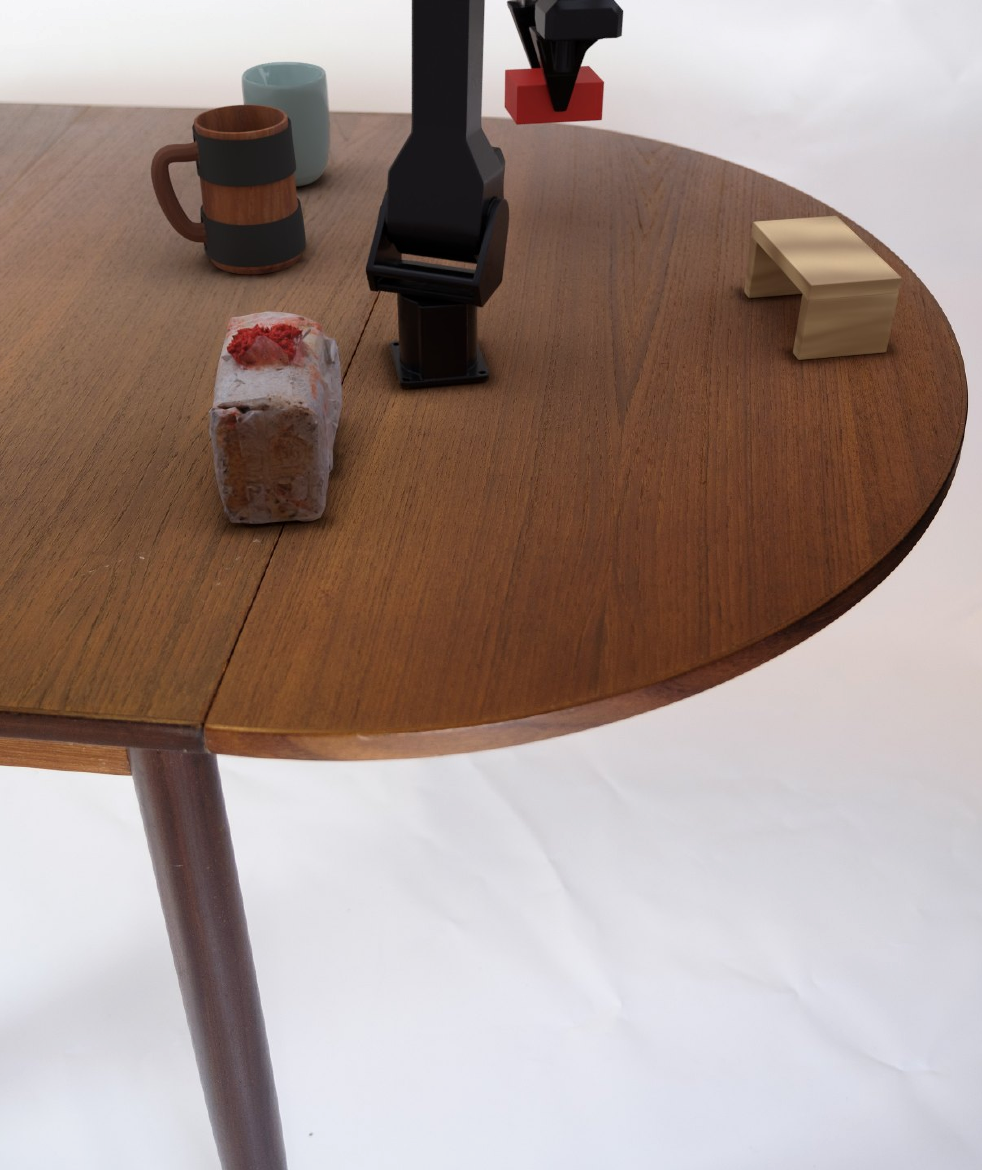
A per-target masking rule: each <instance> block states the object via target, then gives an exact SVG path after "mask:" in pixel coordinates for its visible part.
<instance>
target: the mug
mask: <svg viewBox="0 0 982 1170" xmlns="http://www.w3.org/2000/svg"><path fill="white" fill-rule="evenodd" d="M191 129H192V139H193V142H190V143H171V144H167V145H165V146H162V147H160V148H159V149H158V150H157V151H156V152H155V153H154V156H153V158H152V160H151V166H150V177H151V183H152V186H153V191H154V194H155V197H156V199H157V202H158V204H159V206H160V209H161V210H162V213H163V214H164V216H165V218H166V220H167V221H168V223H169V224H170V226H171V227H172V229H173V230H175V231H176V232H177V233H178V234H179V235H180V236H181V237H183V238H184V239H185V240H188V241H190V242H193V243H201V244H203V248H204V249H203V250H204V252H205V255H206V256H207V257H208V258H209V260H210V261H211V262H212V264H213V266H215V267H216V268H218V269H220V270H221V271H225V272H228V273H233V274H238V275H262V274H270V273H275V272H278V271H282V270H285V269H287V268H289V267H291V266H293V265H294V264H296V263H298V261H299V260H300V259H301V256H302V255H303V252H304V251H305V249H306V246H307V240H306V229H305V228H306V227H305V221H304V215H303V208H302V203H301V200H300V199H299V197H298V194H297V187H296V184H295V175H294V172H295V171H296V159H295V152H294V144H293V136H292V126H291V120H290V119H289V117H287V115H286V113H285V112H283V111H282V110H280V109H277V108H273V107H269V106H262V105H244V104H235V105H234V104H233V105H225V106H220V107H215V108H212V109H209V110H206V111H203V112H201V113H199V114H198V115H197V116H196V117H194V119H193V123H192V127H191ZM192 162H195V165H196V174H197V176H198V177H199V184H200V192H201V203H202V204H201V206H200V210H199V211H200V215H199V216H200V222H195V221H192V220H191V218H189V216H188V215H187V213H186V212H185V211H184V208H183V207H182V205H181V203H180V201H179V199H178V197H177V195H176V192H175V190H174V187H173V183H172V179H171V175H170V170H169V168H170V167H169V166H170V164H172V163H173V164H174V163H192Z"/></svg>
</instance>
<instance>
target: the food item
mask: <svg viewBox="0 0 982 1170" xmlns="http://www.w3.org/2000/svg"><path fill="white" fill-rule="evenodd" d="M342 387H343V386H342V371H341V362H340V355H339V346H338V344H337V340H336V338H334V337H328V336H326V335H325V333H324V331H323V325H322V324H320V323H319V322H317V321H315V320H312V319H310V318H309V317H307V316H306V317H305V316H302V315H299V314H294V313H291V312H290V313H289V312H282V311H269V310H267V311H263V312H257V313H251V314H246V315H242V316H241V315H240V316H233V317H230V318H229V321H228V323H227V327H226V333H225V338H224V341H223V344H222V349H221V352H220V355H219V360H218V366H217V370H216V377H215V381H214V389H213V403H212V407H211V408H210V409H209V411H208V415H209V421H208V422H209V426H208V427H209V430H208V434H209V437H210V439H211V445H212V454H213V455H212V457H213V467H214V472H215V473H214V474H215V478H216V483H217V488H218V493H219V496H220V499H221V503H222V506H223V511H224V513H225V514H226V515H227V517H228V519H229V520H230V522H231V523H234V524H247V525H251V524H252V525H259V524H261V525H262V524H267V523H276V522H290V521H300V522H302V523H303V522H304V523H305V522H313V521H316V520H319V519H320V518H321V517H322V515H323V513H324V511H325V509H326V504H327V492H328V489H329V477H330V473H331V471H332V470H333V469H334V451H333V450H334V444H335V439H336V435H337V430H338V427H339V420H340V416H341V412H342V408H343V388H342Z"/></svg>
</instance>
